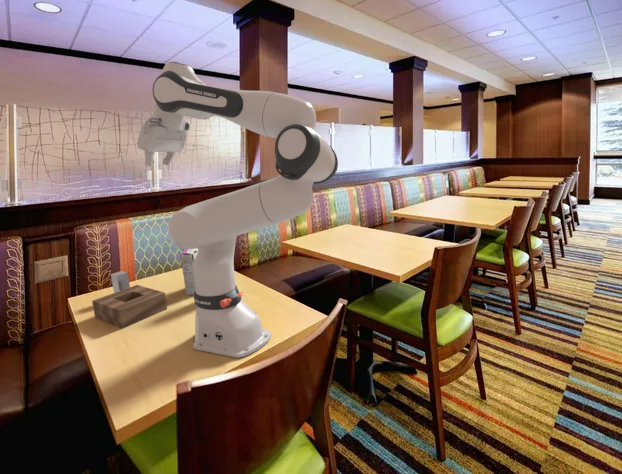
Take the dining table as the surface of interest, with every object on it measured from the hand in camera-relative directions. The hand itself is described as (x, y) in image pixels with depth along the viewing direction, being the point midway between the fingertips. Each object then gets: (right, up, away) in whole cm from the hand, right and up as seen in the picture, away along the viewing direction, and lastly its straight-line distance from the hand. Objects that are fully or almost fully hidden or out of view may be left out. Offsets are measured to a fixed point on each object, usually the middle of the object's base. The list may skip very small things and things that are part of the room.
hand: (157, 165), depth 111 cm
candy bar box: (+2, -43, +31) cm, 53 cm away
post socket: (-14, -48, +12) cm, 51 cm away
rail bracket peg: (-23, -45, +25) cm, 56 cm away
